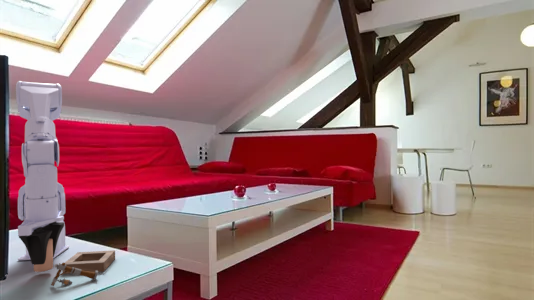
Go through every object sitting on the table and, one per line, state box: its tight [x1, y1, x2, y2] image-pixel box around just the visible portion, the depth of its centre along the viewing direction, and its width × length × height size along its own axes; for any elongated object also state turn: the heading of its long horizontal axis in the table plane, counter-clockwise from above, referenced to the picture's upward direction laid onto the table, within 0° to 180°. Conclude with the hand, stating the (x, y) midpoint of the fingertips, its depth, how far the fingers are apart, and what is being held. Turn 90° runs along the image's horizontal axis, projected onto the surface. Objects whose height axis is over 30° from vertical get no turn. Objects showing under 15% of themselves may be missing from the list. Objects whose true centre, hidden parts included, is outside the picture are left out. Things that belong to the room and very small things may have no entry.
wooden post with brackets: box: [50, 262, 99, 287], centre depth 69 cm, size 2×8×4 cm, turn 119°
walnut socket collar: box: [61, 250, 116, 275], centre depth 79 cm, size 8×8×2 cm
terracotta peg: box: [33, 238, 54, 273], centre depth 74 cm, size 4×4×6 cm
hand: (43, 260), depth 74 cm, fingers closed on terracotta peg, 3 cm apart
